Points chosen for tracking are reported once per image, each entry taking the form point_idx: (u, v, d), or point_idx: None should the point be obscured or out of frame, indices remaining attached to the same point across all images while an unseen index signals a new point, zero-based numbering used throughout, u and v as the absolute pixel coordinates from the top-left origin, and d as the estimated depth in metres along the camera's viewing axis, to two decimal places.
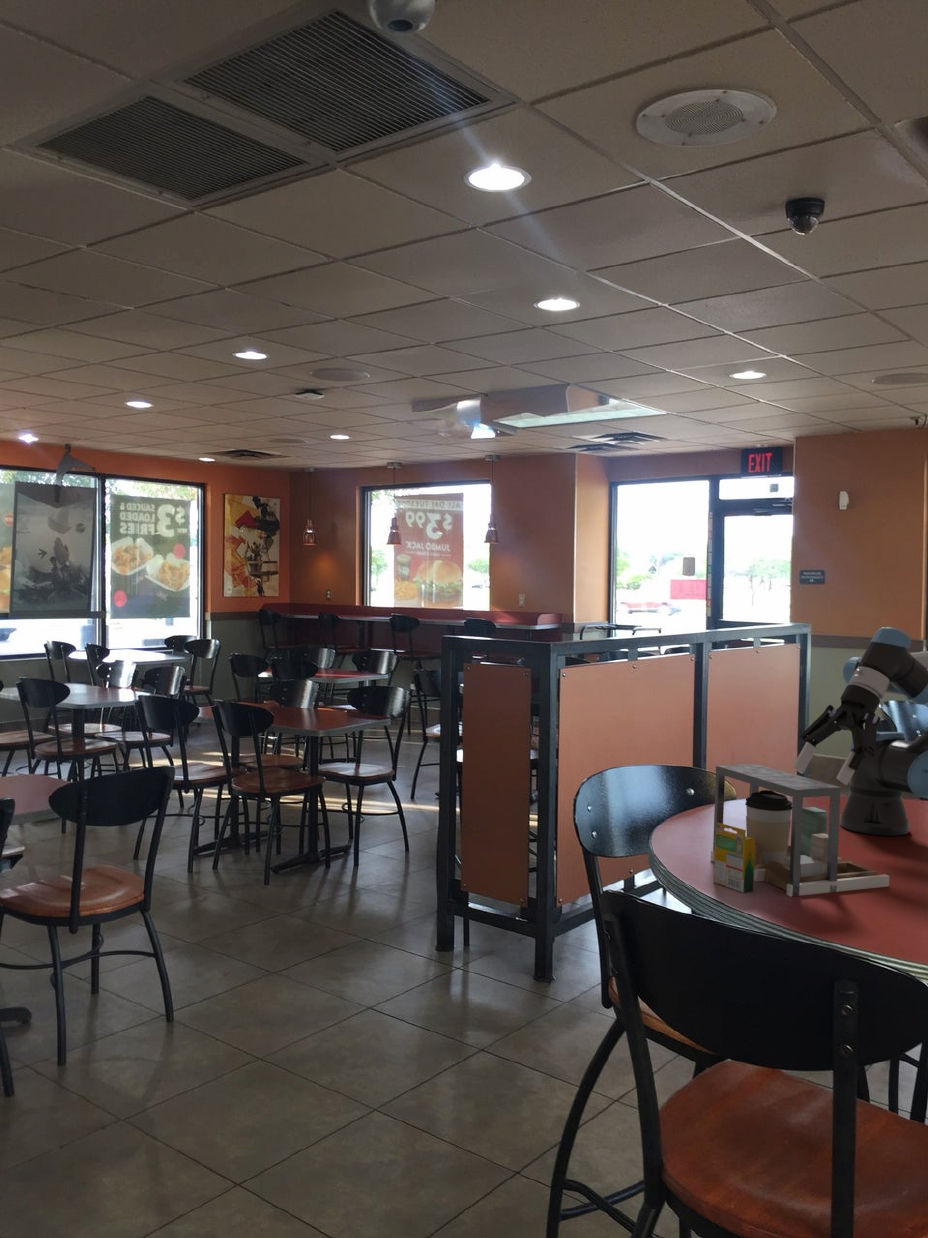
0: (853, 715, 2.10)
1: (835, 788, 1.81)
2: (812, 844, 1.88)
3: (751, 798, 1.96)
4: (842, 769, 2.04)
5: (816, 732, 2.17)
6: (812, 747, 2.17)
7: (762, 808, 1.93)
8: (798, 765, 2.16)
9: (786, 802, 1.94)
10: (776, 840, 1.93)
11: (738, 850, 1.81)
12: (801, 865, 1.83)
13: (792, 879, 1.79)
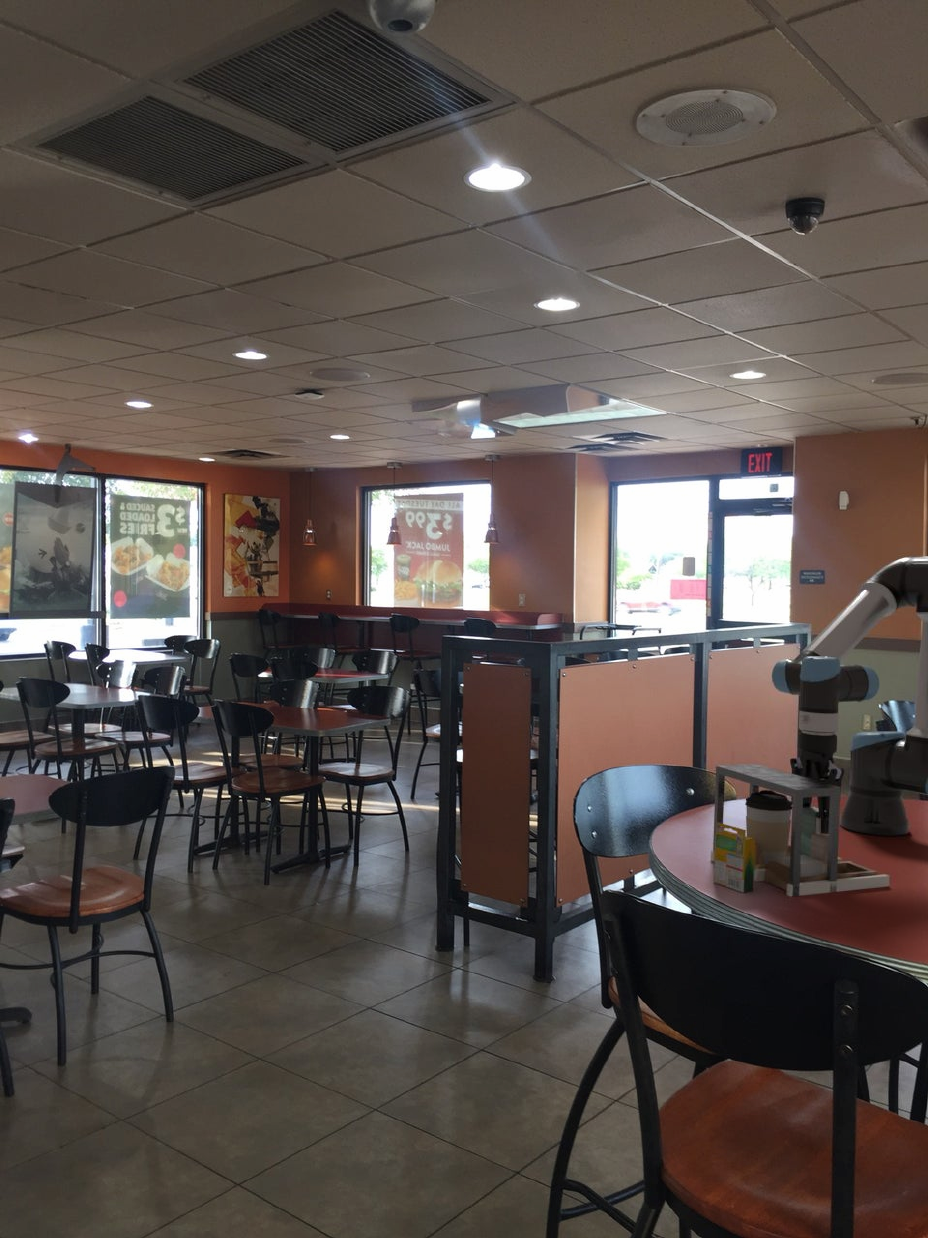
0: (817, 768, 1.98)
1: (835, 788, 1.81)
2: (812, 844, 1.88)
3: (751, 798, 1.96)
4: None
5: None
6: None
7: (762, 808, 1.93)
8: None
9: (786, 802, 1.94)
10: (776, 840, 1.93)
11: (738, 850, 1.81)
12: (801, 865, 1.83)
13: (792, 879, 1.79)
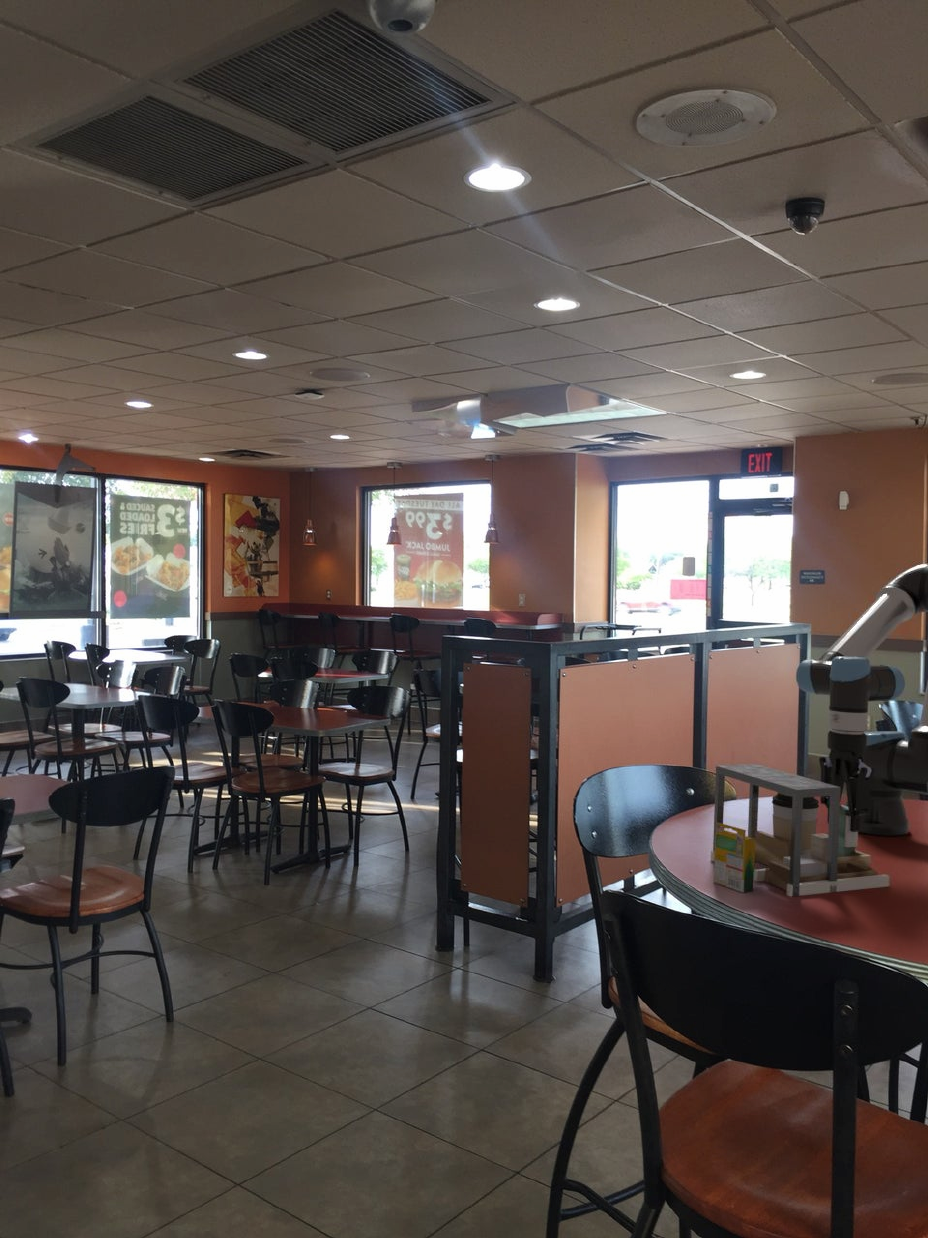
0: (847, 767, 2.01)
1: (835, 788, 1.81)
2: (812, 844, 1.88)
3: (778, 796, 1.99)
4: (846, 836, 2.01)
5: None
6: None
7: (789, 806, 1.95)
8: None
9: (812, 800, 1.97)
10: (803, 838, 1.95)
11: (738, 850, 1.81)
12: (801, 865, 1.83)
13: (792, 879, 1.79)
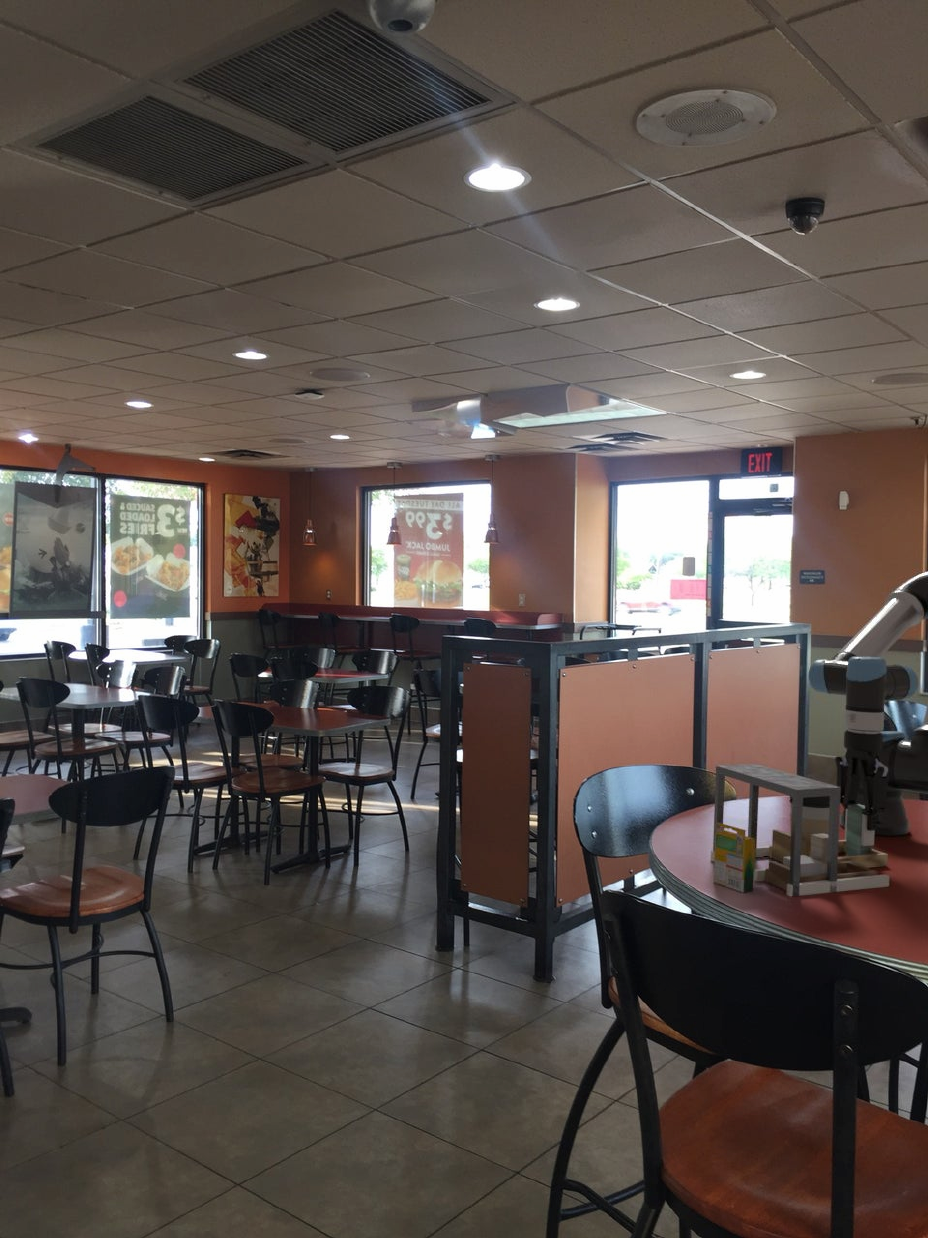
0: (863, 766, 2.03)
1: (835, 788, 1.81)
2: (812, 844, 1.88)
3: None
4: (862, 835, 2.03)
5: (847, 793, 2.07)
6: None
7: (806, 805, 1.97)
8: None
9: None
10: None
11: (738, 850, 1.81)
12: (801, 865, 1.83)
13: (792, 879, 1.79)
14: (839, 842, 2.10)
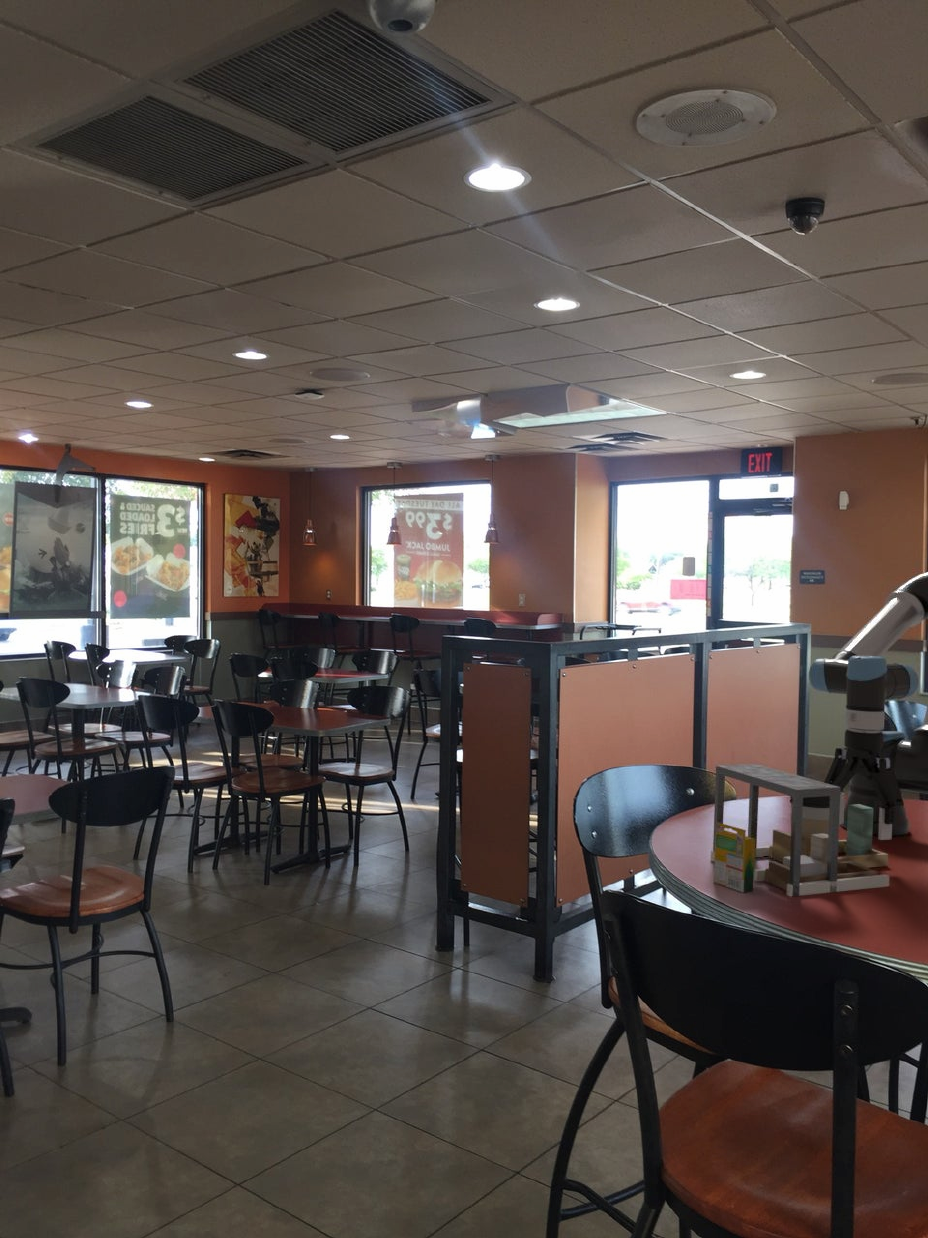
0: (865, 763, 2.02)
1: (835, 788, 1.81)
2: (812, 844, 1.88)
3: None
4: (880, 829, 1.99)
5: (837, 782, 2.10)
6: (840, 795, 2.11)
7: (807, 805, 1.97)
8: None
9: None
10: None
11: (738, 850, 1.81)
12: (801, 865, 1.83)
13: (792, 879, 1.79)
14: (839, 842, 2.10)
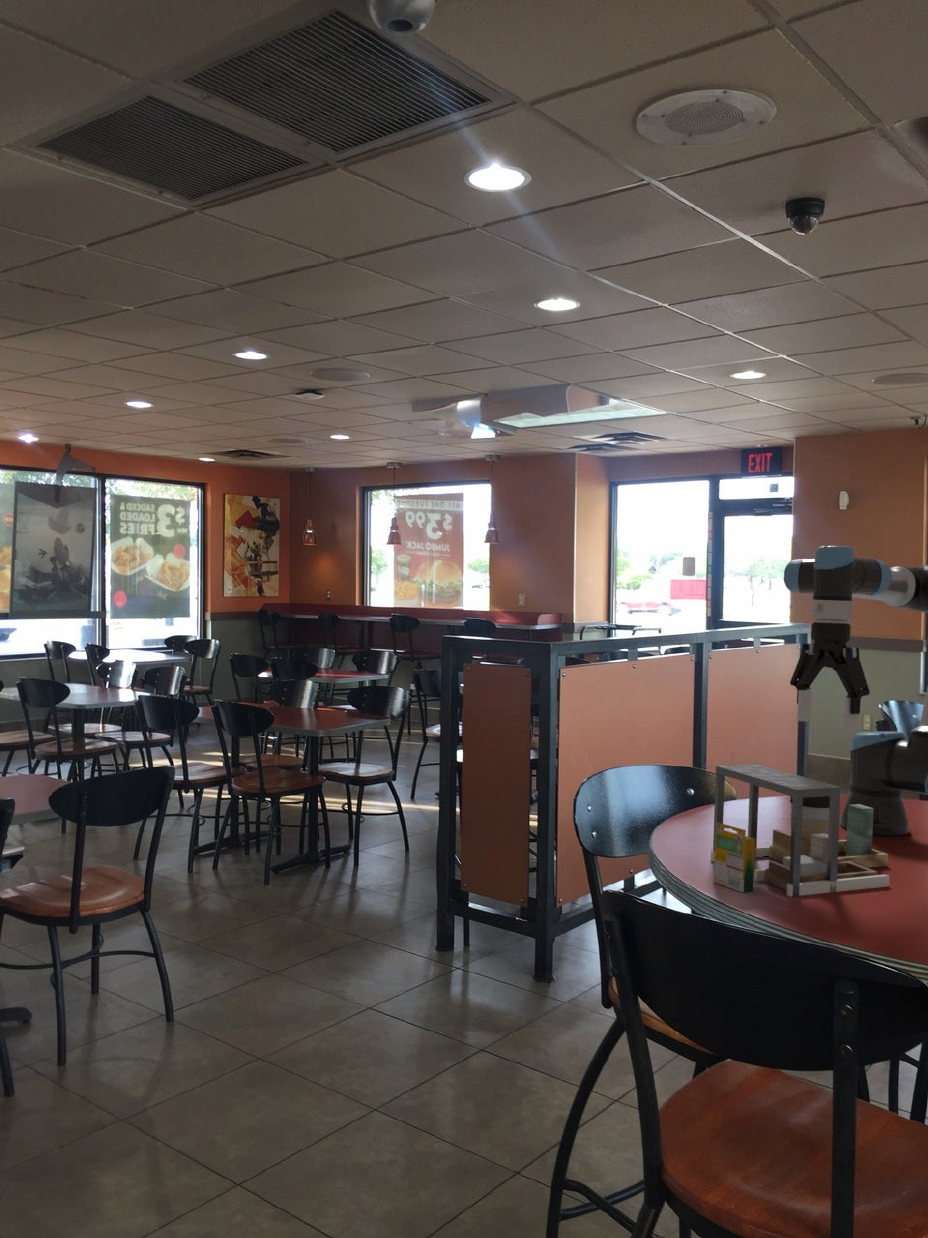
0: (831, 654, 1.98)
1: (835, 788, 1.81)
2: (812, 844, 1.88)
3: None
4: (845, 719, 1.94)
5: (804, 677, 2.06)
6: (806, 692, 2.07)
7: (807, 805, 1.97)
8: (801, 717, 2.07)
9: None
10: None
11: (738, 850, 1.81)
12: (801, 865, 1.83)
13: (792, 879, 1.79)
14: (839, 842, 2.10)
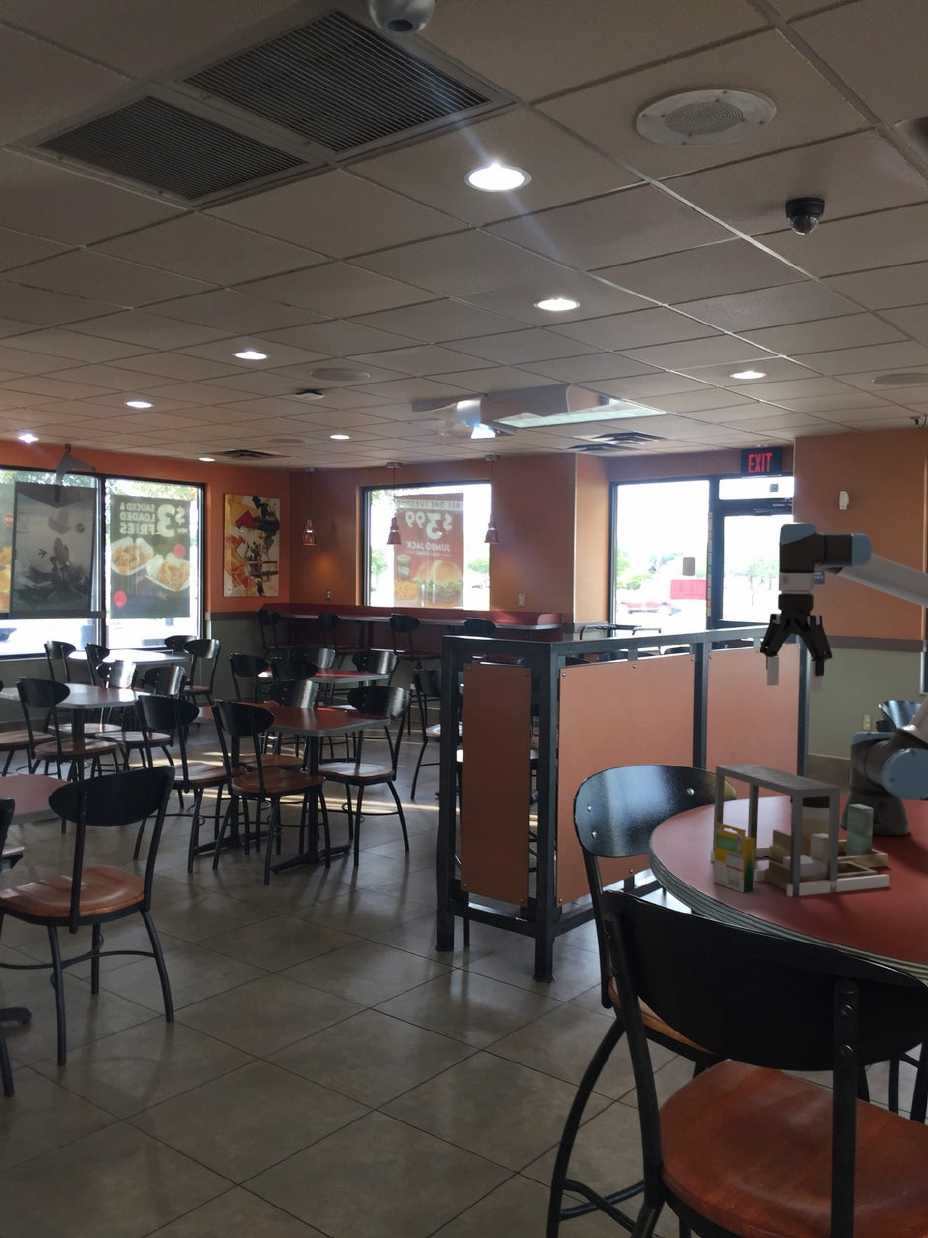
0: (797, 622, 2.16)
1: (835, 788, 1.81)
2: (812, 844, 1.88)
3: None
4: (811, 681, 2.12)
5: (772, 645, 2.24)
6: (775, 658, 2.25)
7: (807, 805, 1.97)
8: (771, 681, 2.25)
9: None
10: None
11: (738, 850, 1.81)
12: (801, 865, 1.83)
13: (792, 879, 1.79)
14: (839, 842, 2.10)
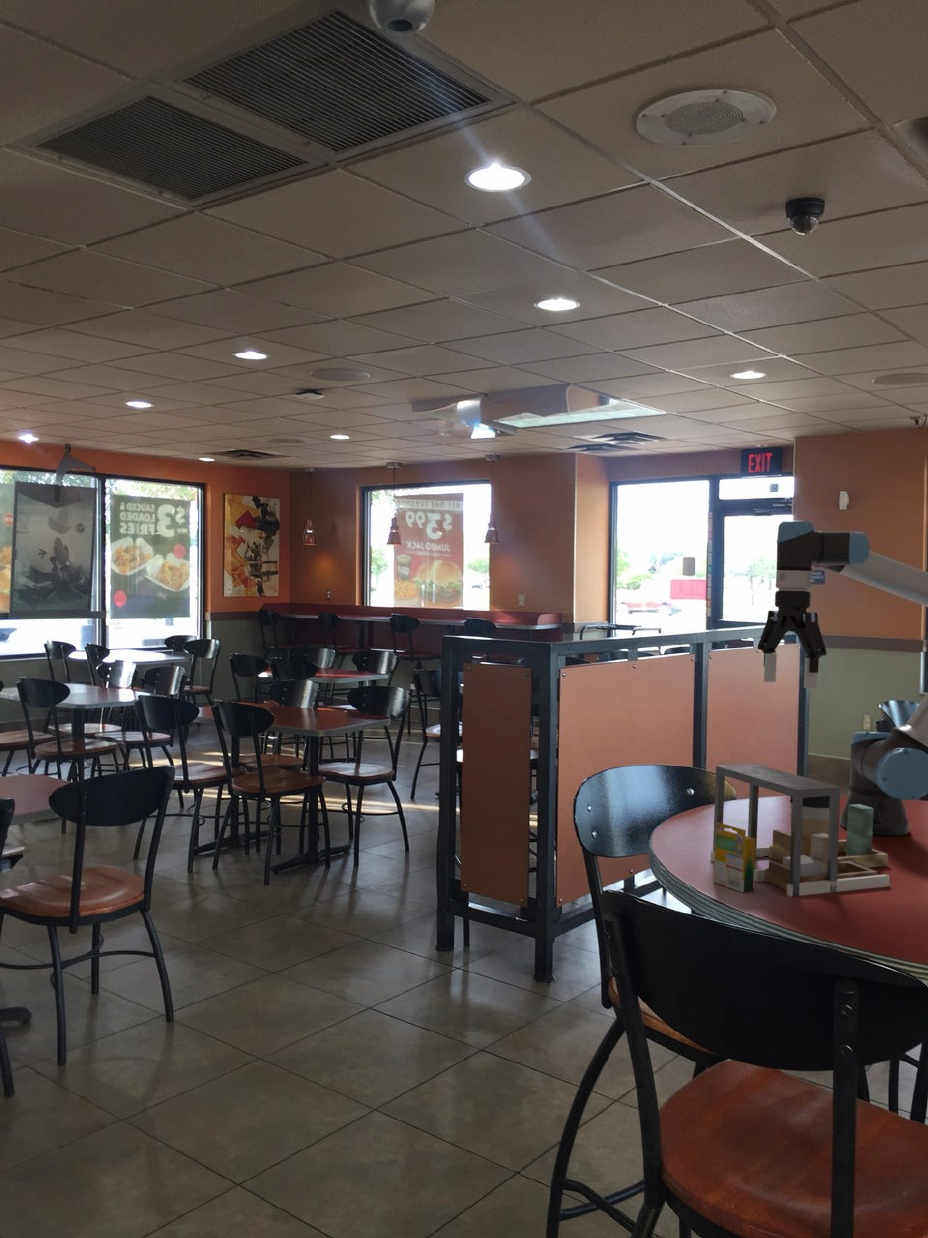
0: (793, 619, 2.18)
1: (835, 788, 1.81)
2: (812, 844, 1.88)
3: None
4: (805, 677, 2.14)
5: (769, 641, 2.26)
6: (772, 655, 2.27)
7: (807, 805, 1.97)
8: (768, 677, 2.27)
9: None
10: None
11: (738, 850, 1.81)
12: (801, 865, 1.83)
13: (792, 879, 1.79)
14: (839, 842, 2.10)
